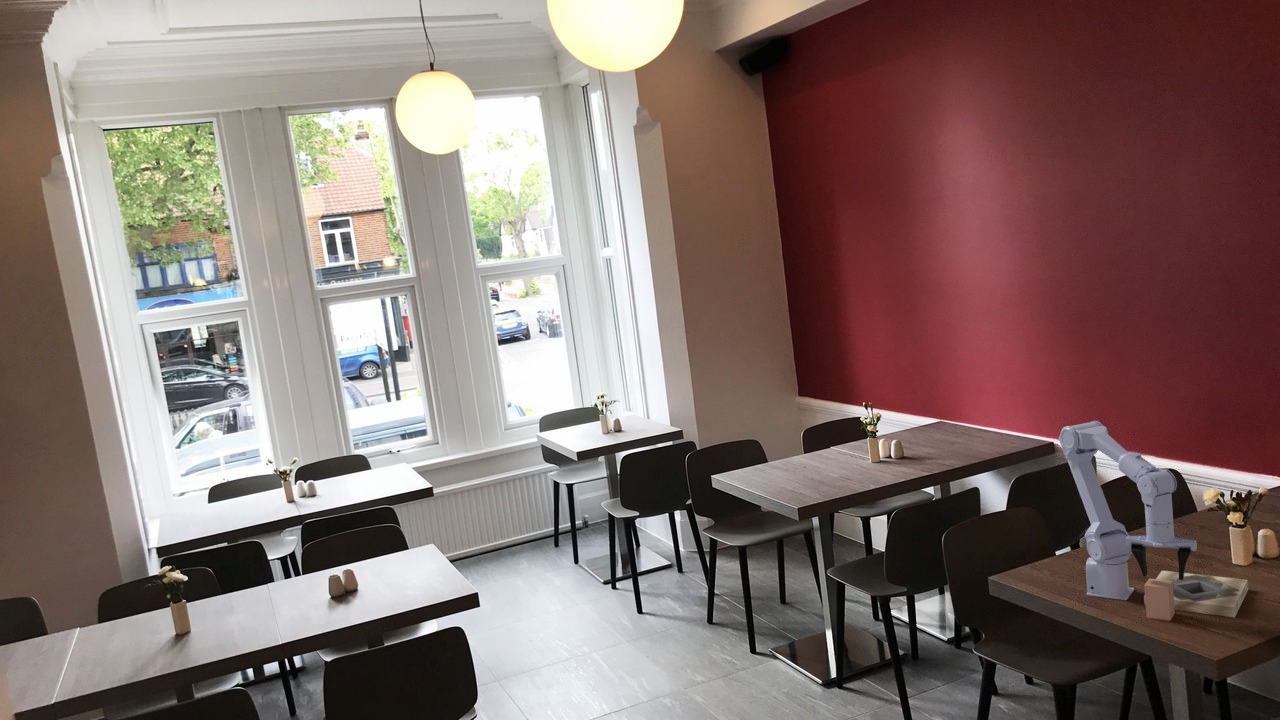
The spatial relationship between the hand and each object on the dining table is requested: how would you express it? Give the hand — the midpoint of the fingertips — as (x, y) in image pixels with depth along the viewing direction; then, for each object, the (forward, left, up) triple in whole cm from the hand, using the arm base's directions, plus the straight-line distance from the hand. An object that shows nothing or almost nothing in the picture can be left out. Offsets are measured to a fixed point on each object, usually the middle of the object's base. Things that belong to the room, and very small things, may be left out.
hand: (1163, 576), depth 226 cm
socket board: (+4, +13, -9) cm, 17 cm away
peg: (-1, -1, -9) cm, 9 cm away
